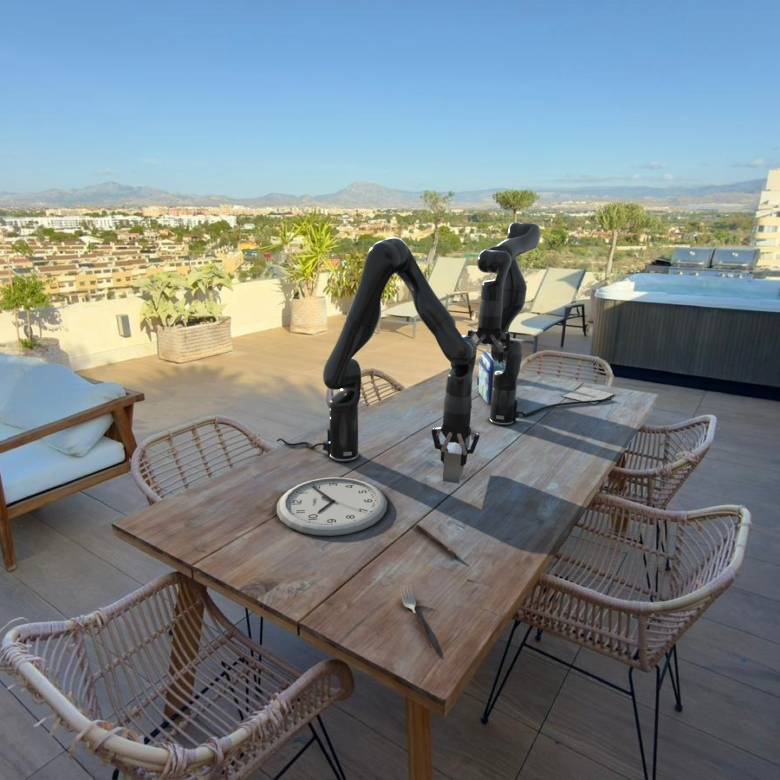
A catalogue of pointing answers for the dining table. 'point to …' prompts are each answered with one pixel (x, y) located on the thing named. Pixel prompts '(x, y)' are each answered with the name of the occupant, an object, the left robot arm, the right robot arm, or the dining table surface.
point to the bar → (453, 462)
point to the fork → (411, 605)
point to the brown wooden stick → (436, 541)
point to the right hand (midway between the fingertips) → (486, 361)
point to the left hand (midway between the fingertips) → (453, 463)
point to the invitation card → (588, 394)
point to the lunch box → (487, 375)
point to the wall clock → (331, 506)
